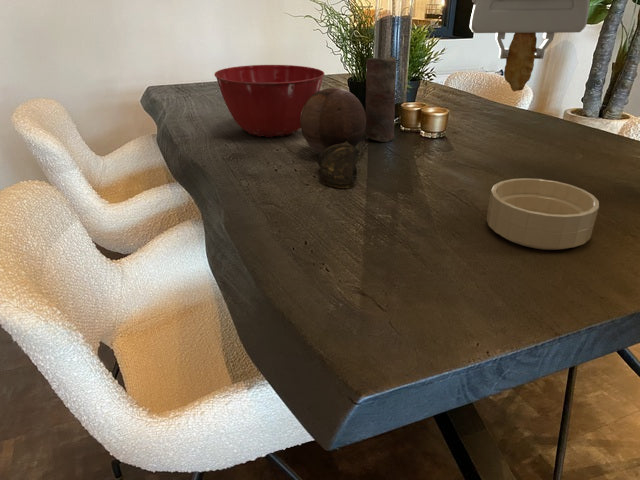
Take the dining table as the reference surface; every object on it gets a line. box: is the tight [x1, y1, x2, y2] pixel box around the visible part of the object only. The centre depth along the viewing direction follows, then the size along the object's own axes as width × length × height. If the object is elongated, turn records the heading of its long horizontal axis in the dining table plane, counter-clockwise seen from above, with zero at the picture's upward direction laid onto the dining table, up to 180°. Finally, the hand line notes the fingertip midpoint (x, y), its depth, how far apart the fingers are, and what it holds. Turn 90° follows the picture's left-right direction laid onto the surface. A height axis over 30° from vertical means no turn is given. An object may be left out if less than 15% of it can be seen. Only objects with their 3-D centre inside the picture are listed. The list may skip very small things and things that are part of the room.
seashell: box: [317, 141, 360, 189], centre depth 101 cm, size 16×9×7 cm, turn 179°
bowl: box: [486, 177, 600, 251], centre depth 77 cm, size 15×15×6 cm
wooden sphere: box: [300, 87, 366, 154], centre depth 111 cm, size 15×15×15 cm
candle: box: [364, 56, 397, 143], centre depth 121 cm, size 8×7×20 cm
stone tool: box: [503, 33, 538, 92], centre depth 93 cm, size 5×2×15 cm, turn 80°
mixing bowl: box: [214, 64, 326, 138], centre depth 130 cm, size 28×28×16 cm
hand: (520, 58), depth 94 cm, fingers closed on stone tool, 5 cm apart
